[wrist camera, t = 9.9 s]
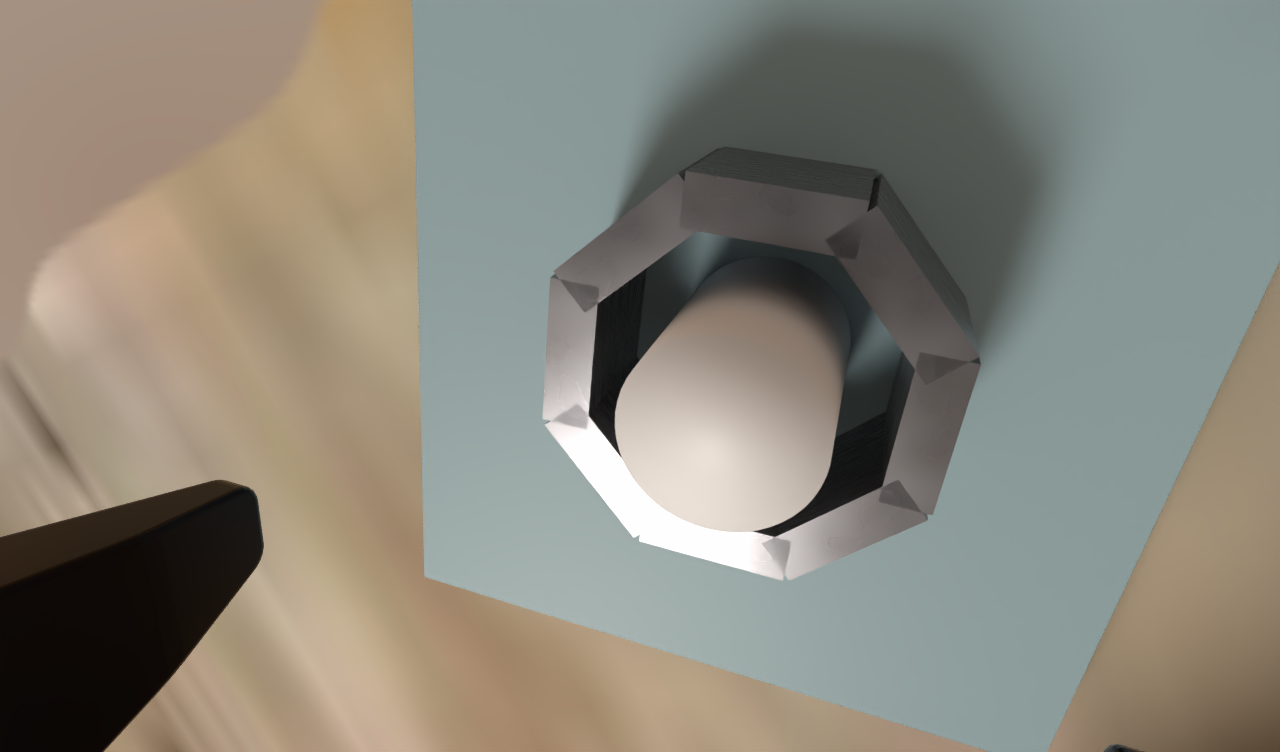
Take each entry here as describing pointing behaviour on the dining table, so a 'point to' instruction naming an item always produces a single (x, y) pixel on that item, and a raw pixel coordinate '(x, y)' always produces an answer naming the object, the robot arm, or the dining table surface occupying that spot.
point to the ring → (794, 218)
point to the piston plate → (1012, 206)
